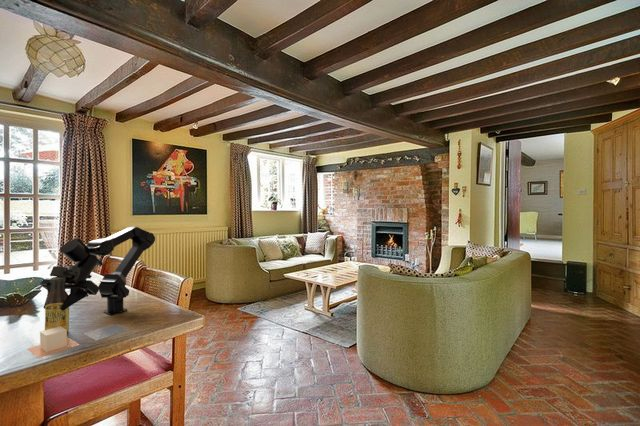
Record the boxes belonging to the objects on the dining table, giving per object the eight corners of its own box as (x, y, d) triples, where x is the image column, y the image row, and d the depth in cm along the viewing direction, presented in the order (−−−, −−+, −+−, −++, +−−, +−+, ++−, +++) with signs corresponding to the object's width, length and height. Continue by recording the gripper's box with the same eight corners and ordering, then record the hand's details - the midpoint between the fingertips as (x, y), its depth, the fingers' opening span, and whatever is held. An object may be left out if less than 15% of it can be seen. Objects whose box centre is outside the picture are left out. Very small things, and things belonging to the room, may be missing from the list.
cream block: (40, 347, 94) (40, 331, 94) (60, 341, 98) (60, 326, 98) (46, 352, 92) (45, 335, 91) (67, 345, 96) (66, 329, 96)
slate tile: (83, 335, 105) (83, 333, 105) (115, 325, 113) (115, 323, 113) (96, 342, 99) (96, 340, 99) (129, 331, 108) (129, 330, 108)
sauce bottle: (42, 341, 100) (40, 280, 99) (48, 334, 105) (46, 276, 104) (67, 337, 103) (66, 278, 102) (72, 330, 108) (70, 274, 107)
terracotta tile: (26, 350, 94) (26, 348, 94) (67, 338, 102) (67, 336, 102) (38, 360, 88) (38, 357, 88) (80, 346, 97) (80, 344, 97)
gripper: (44, 255, 108) (9, 296, 98) (91, 257, 106) (60, 299, 95) (66, 272, 116) (36, 312, 106) (110, 274, 114) (83, 315, 103)
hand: (53, 309), depth 102 cm, fingers closed on sauce bottle, 6 cm apart
